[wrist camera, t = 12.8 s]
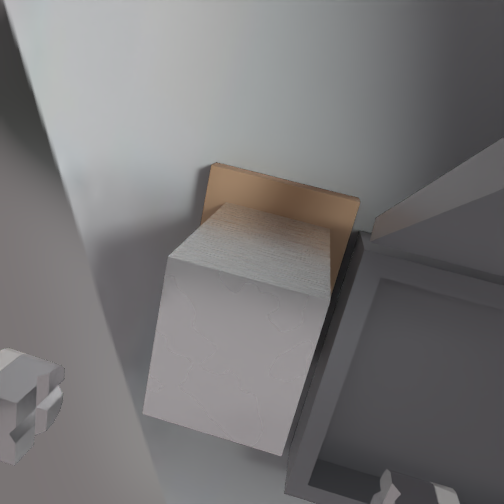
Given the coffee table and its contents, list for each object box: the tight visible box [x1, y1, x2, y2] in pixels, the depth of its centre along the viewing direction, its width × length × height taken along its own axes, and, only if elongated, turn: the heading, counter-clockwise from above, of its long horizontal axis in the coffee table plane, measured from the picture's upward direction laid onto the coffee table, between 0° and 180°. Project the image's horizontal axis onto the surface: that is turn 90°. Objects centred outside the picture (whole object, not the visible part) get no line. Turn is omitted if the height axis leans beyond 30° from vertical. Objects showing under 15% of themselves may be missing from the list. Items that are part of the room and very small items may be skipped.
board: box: [200, 162, 360, 297], centre depth 22 cm, size 7×9×1 cm
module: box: [142, 202, 330, 456], centre depth 18 cm, size 5×6×8 cm
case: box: [284, 231, 504, 504], centre depth 21 cm, size 17×14×3 cm
